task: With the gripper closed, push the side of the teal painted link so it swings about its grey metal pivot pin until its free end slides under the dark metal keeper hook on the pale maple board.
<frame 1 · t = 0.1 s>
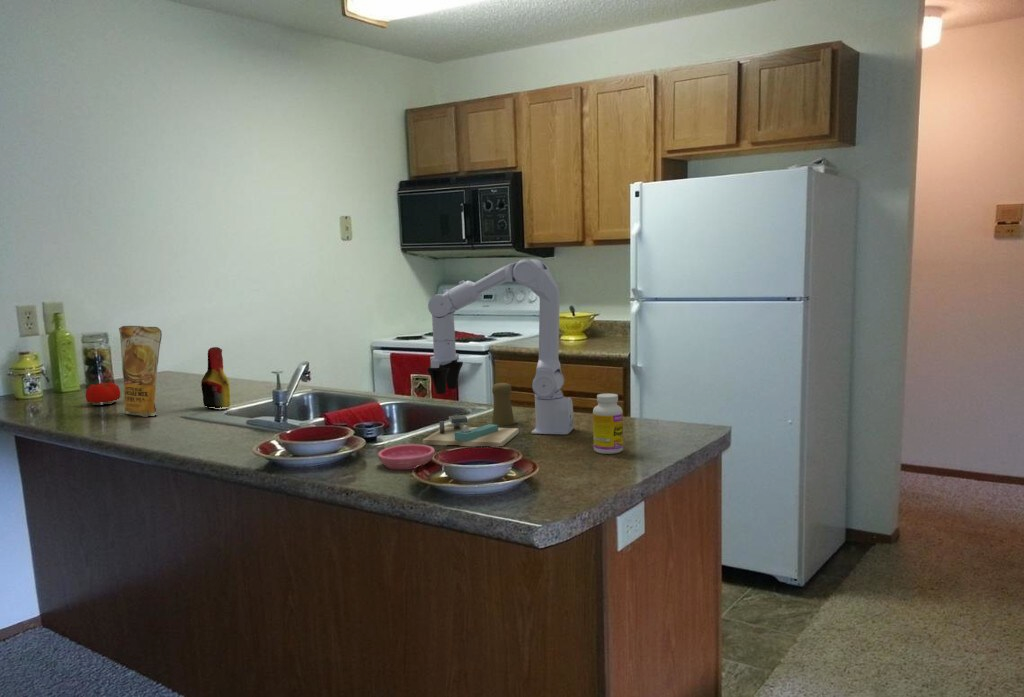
hand: (446, 391, 201), 10 cm above the countertop, tool pointing down, fingers open, 7 cm apart
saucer: (407, 465, 168), on the countertop
cork: (503, 423, 207), on the countertop
pancake mix bag: (143, 415, 241), on the countertop
base board: (471, 438, 190), on the countertop
bottle: (218, 409, 245), on the countertop
supplement bottle: (608, 451, 172), on the countertop
link: (477, 431, 188), point 2 cm above the countertop, hinge at 0.0°
keeper: (452, 426, 194), resting on base board
tomato: (105, 405, 262), on the countertop
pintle: (465, 432, 184), on the base board, point 3 cm above the countertop
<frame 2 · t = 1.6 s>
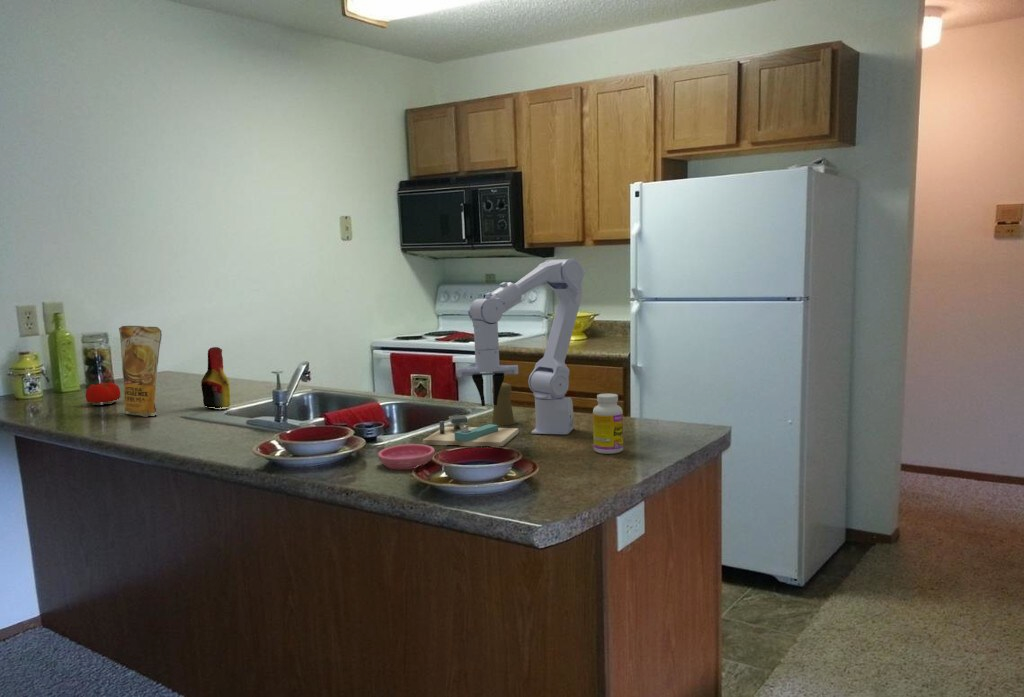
hand: (489, 405, 183), 9 cm above the countertop, tool pointing down, fingers closed
nothing on the countertop moved.
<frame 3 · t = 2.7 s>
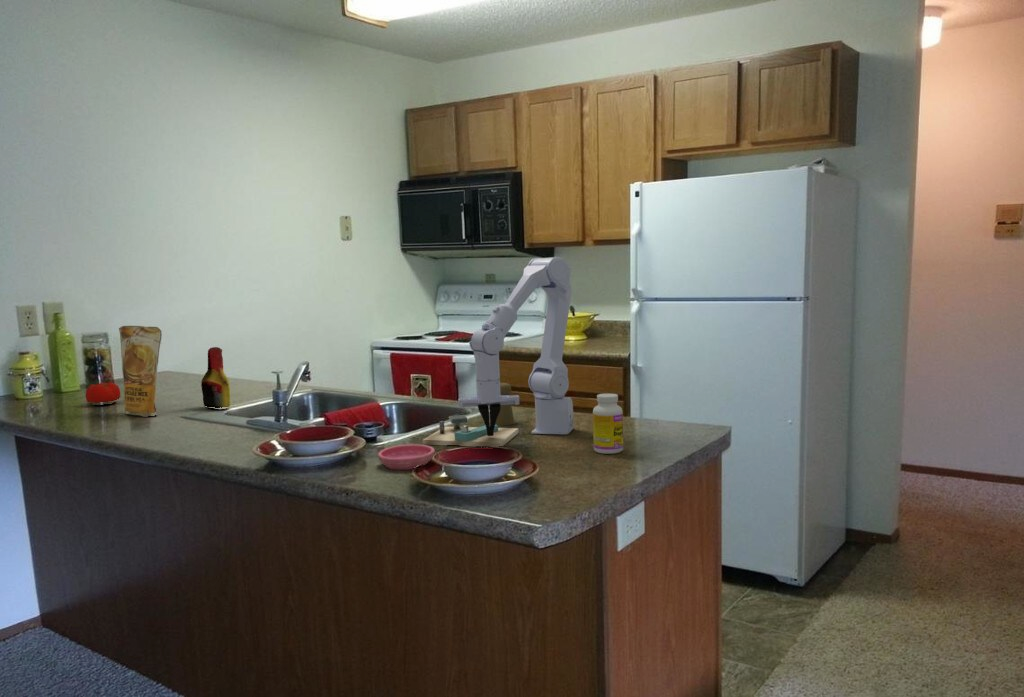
hand: (490, 435, 184), 2 cm above the countertop, tool pointing down, fingers closed
nothing on the countertop moved.
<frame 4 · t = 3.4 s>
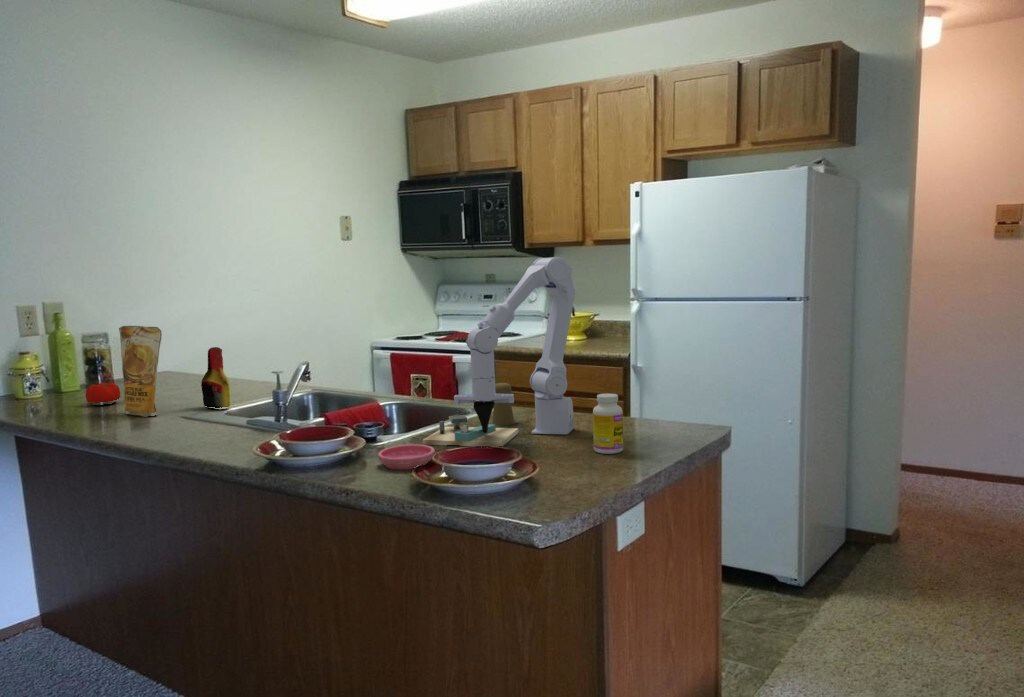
hand: (485, 432, 187), 2 cm above the countertop, tool pointing down, fingers closed
link: (476, 431, 188), point 2 cm above the countertop, hinge at 4.4°, touching gripper
everything else where it was.
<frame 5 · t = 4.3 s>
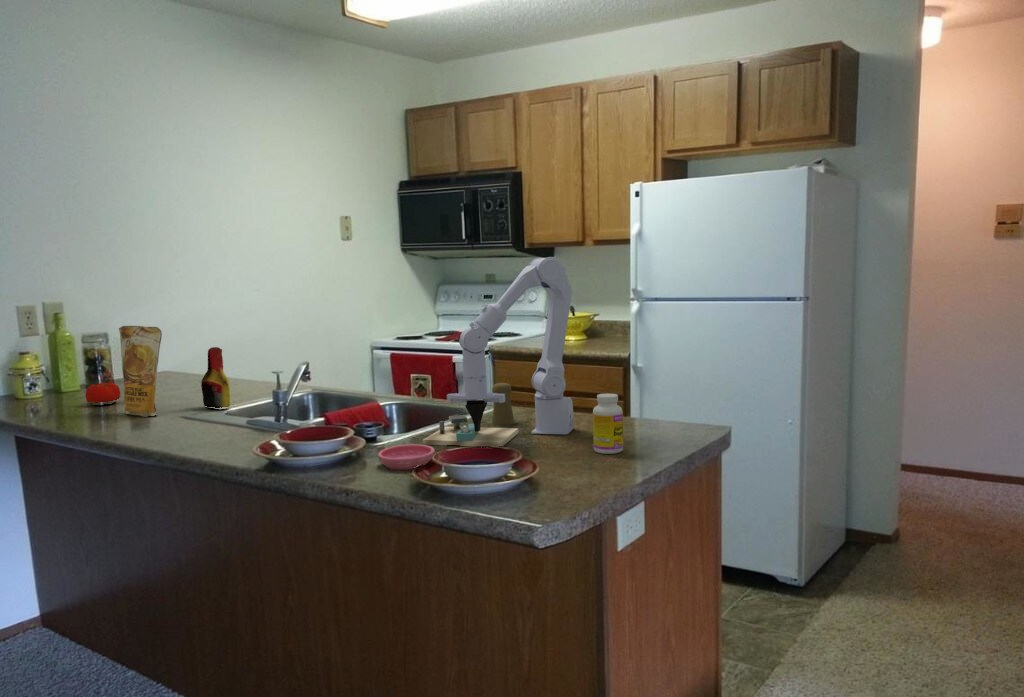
hand: (477, 430, 189), 2 cm above the countertop, tool pointing down, fingers closed, pressing on link
link: (469, 431, 189), point 2 cm above the countertop, hinge at 28.9°, touching gripper
everything else where it was.
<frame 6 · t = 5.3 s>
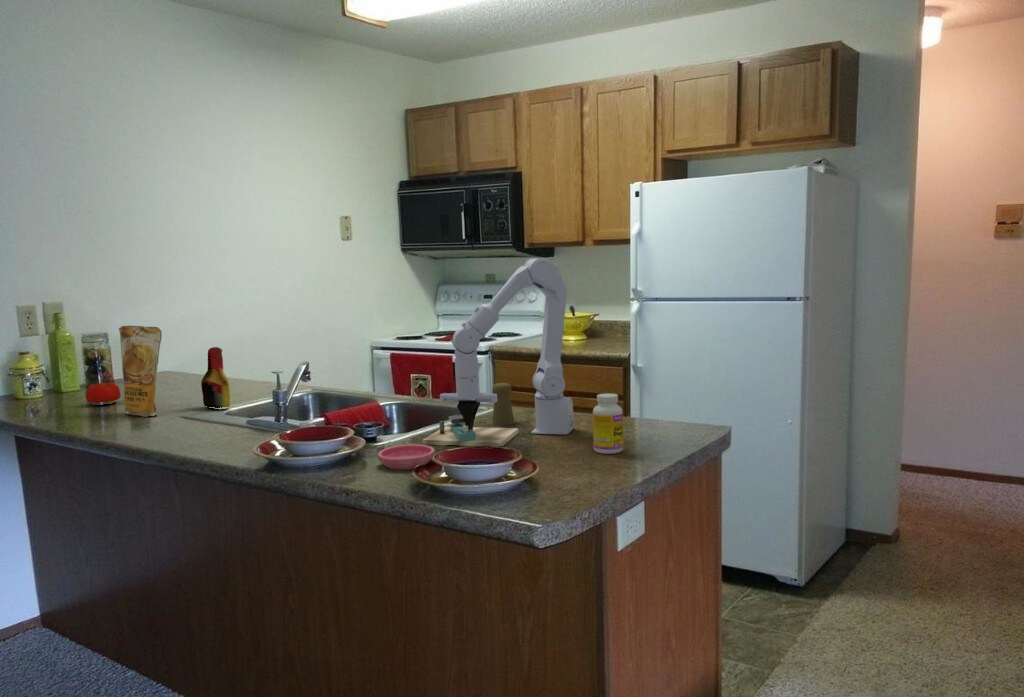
hand: (470, 430, 190), 2 cm above the countertop, tool pointing down, fingers closed
link: (461, 431, 188), point 2 cm above the countertop, hinge at 53.4°, touching gripper
everything else where it was.
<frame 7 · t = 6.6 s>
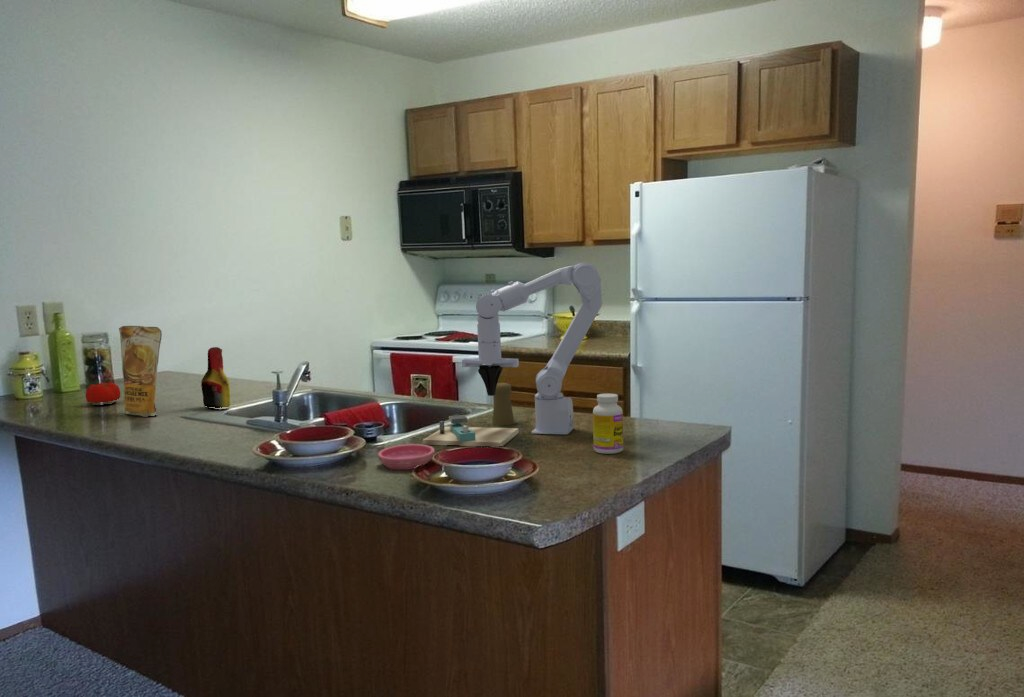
hand: (491, 395, 194), 10 cm above the countertop, tool pointing down, fingers closed
link: (461, 431, 188), point 2 cm above the countertop, hinge at 53.6°
everything else where it was.
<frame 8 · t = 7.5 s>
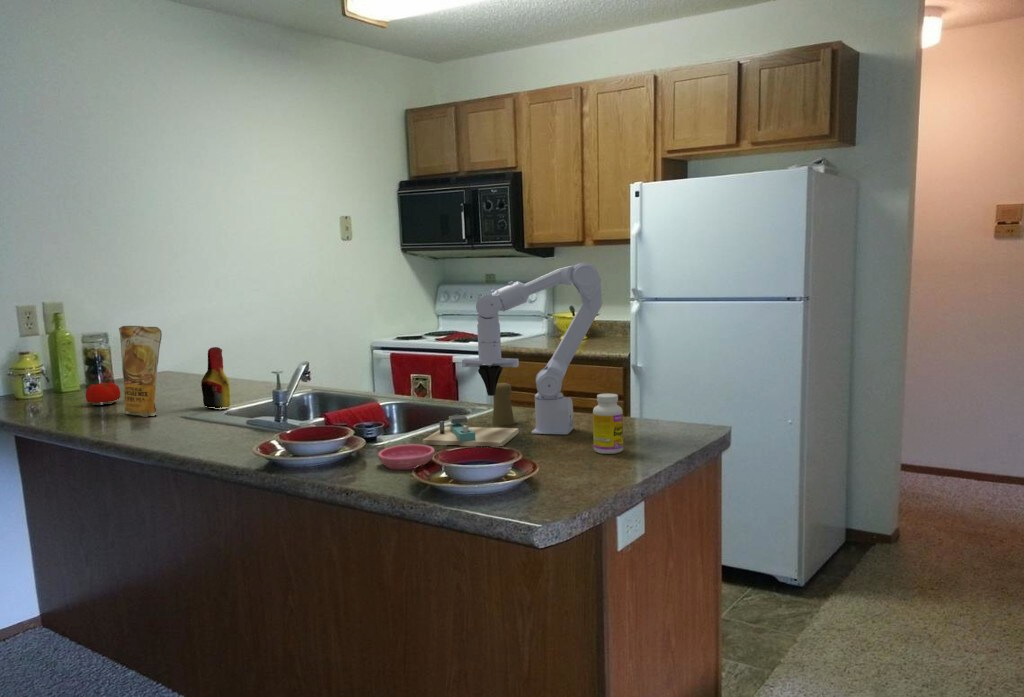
hand: (491, 395, 194), 10 cm above the countertop, tool pointing down, fingers closed
nothing on the countertop moved.
at the end: link at +54° (first picture: +0°) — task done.
